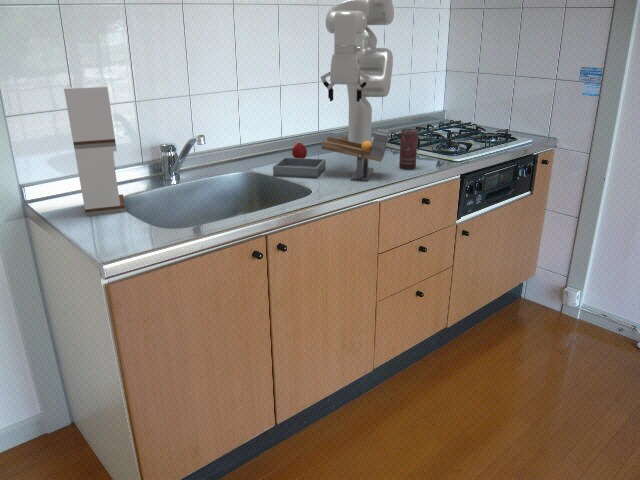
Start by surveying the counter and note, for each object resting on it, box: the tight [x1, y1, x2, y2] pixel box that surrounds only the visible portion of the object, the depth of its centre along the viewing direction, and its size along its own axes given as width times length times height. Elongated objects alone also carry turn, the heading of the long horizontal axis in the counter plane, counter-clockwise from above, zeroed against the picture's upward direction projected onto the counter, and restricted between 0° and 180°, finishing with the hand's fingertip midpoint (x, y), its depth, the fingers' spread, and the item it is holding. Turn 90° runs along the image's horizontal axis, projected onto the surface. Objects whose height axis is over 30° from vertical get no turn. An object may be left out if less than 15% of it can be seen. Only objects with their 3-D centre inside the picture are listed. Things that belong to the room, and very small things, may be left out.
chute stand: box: [350, 154, 375, 182], centre depth 193 cm, size 15×6×9 cm, turn 168°
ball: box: [361, 141, 373, 151], centre depth 190 cm, size 4×4×4 cm
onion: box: [291, 140, 308, 158], centre depth 213 cm, size 6×6×8 cm
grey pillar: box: [63, 82, 126, 217], centre depth 155 cm, size 11×11×35 cm
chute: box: [321, 128, 390, 162], centre depth 194 cm, size 17×21×9 cm
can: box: [398, 128, 419, 171], centre depth 201 cm, size 6×6×14 cm
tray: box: [272, 157, 327, 179], centre depth 198 cm, size 14×16×4 cm
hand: (344, 100), depth 196 cm, fingers open, 9 cm apart
